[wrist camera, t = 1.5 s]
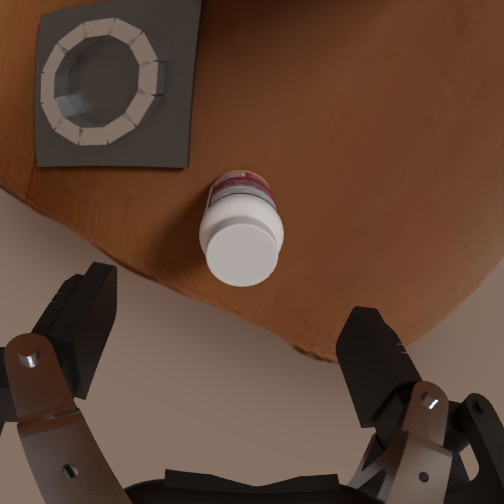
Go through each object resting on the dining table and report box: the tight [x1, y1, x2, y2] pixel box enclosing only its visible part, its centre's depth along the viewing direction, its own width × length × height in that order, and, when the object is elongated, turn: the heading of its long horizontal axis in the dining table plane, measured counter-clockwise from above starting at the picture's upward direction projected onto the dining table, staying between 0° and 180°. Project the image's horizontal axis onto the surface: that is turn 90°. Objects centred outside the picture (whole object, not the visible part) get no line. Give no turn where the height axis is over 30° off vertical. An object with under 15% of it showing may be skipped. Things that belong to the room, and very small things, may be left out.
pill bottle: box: [199, 170, 284, 287], centre depth 26 cm, size 6×6×11 cm
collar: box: [35, 0, 203, 168], centre depth 23 cm, size 16×16×4 cm
